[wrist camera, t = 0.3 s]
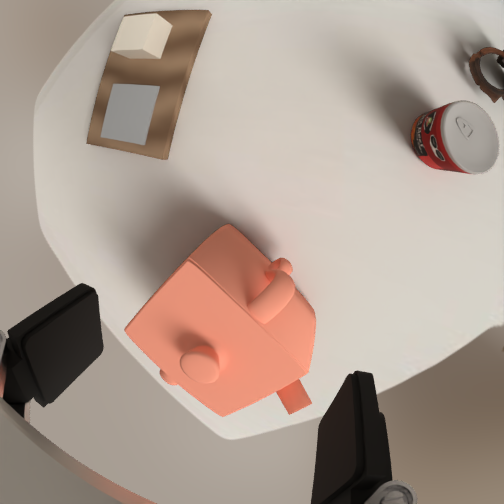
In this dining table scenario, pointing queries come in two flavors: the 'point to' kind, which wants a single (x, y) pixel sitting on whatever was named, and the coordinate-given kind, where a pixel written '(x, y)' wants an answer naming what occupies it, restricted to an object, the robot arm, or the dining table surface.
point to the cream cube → (142, 36)
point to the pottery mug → (478, 76)
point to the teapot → (229, 327)
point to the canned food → (456, 138)
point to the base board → (154, 82)
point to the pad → (129, 112)
